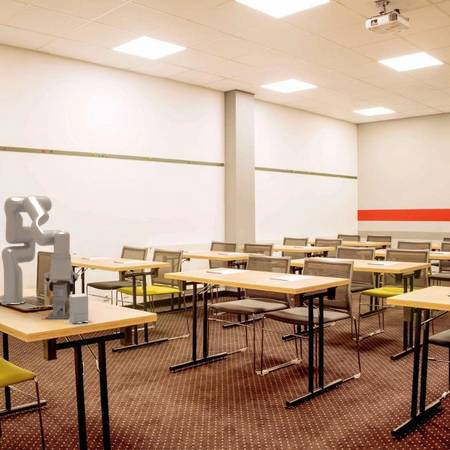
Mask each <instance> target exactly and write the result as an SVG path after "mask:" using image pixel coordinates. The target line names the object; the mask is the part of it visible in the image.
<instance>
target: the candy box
mask: <svg viewBox="0 0 450 450" xmlns="http://www.w3.org/2000/svg"><path fill="white" fill-rule="evenodd" d="M57 281H64V280H53V283H55V282H57ZM43 288H44V289H43V292H44V294H43V297H44V299H43V301H44V303H43V306H44V305H52V304H53V291H50V289H49V283H48V281H47V280H46V279H45V278H44V279H43Z"/></svg>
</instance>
